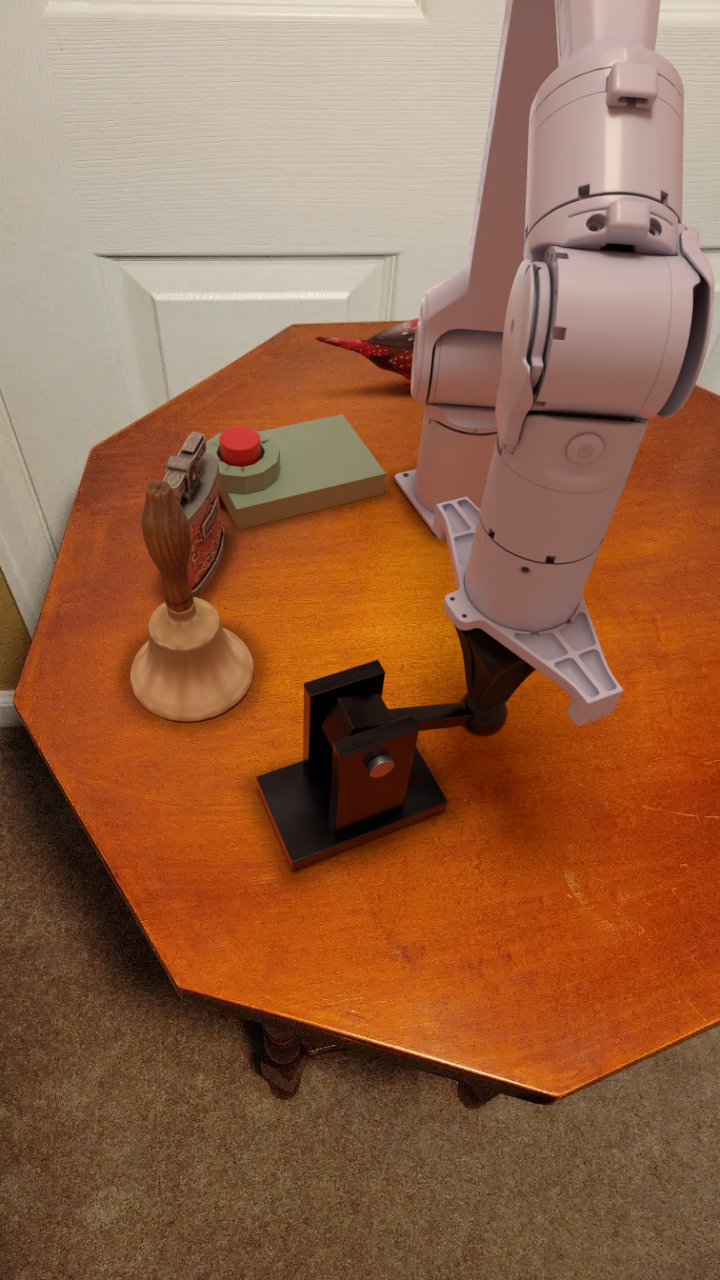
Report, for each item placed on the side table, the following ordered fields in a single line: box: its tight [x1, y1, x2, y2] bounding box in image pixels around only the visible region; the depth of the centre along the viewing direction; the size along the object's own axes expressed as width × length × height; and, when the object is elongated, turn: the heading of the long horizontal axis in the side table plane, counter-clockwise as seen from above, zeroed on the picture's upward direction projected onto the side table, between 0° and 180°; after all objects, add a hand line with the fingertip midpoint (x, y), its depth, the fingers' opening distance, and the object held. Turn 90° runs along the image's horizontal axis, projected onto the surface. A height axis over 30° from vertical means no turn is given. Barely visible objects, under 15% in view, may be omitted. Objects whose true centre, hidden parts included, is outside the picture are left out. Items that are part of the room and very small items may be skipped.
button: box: [219, 425, 261, 467], centre depth 64 cm, size 3×3×2 cm
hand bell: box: [129, 479, 255, 723], centre depth 49 cm, size 8×8×16 cm
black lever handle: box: [321, 691, 509, 749], centre depth 46 cm, size 12×3×3 cm, turn 114°
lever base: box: [255, 659, 449, 872], centre depth 46 cm, size 10×6×10 cm, turn 114°
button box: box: [205, 413, 387, 531], centre depth 67 cm, size 14×9×4 cm, turn 114°
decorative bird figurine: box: [314, 317, 419, 391], centre depth 75 cm, size 3×18×10 cm, turn 103°
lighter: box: [161, 431, 226, 598], centre depth 58 cm, size 8×3×10 cm, turn 168°
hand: (487, 697), depth 47 cm, fingers closed, pressing on black lever handle
